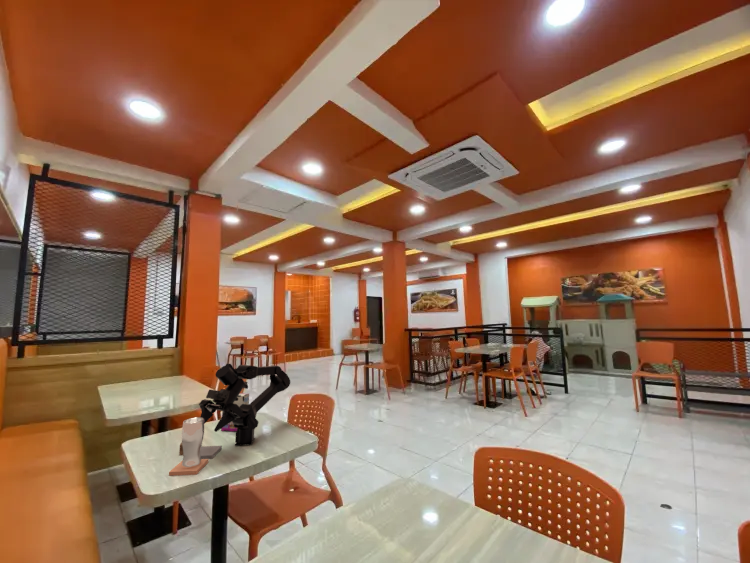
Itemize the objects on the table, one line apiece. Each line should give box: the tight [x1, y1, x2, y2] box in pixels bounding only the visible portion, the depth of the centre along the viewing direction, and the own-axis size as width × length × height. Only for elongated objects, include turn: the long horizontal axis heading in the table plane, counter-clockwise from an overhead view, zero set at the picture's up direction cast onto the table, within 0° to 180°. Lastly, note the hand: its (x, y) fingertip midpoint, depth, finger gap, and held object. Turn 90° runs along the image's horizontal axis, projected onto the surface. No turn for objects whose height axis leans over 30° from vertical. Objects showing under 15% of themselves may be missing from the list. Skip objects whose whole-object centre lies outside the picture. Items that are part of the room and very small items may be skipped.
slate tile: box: [200, 445, 223, 460], centre depth 123 cm, size 9×9×1 cm
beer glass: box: [181, 416, 205, 468], centre depth 113 cm, size 7×7×15 cm
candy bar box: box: [220, 392, 250, 433], centre depth 150 cm, size 11×5×16 cm, turn 81°
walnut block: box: [178, 441, 183, 456], centre depth 125 cm, size 4×4×4 cm
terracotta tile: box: [168, 459, 210, 477], centre depth 111 cm, size 9×9×1 cm
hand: (206, 429), depth 118 cm, fingers open, 9 cm apart
